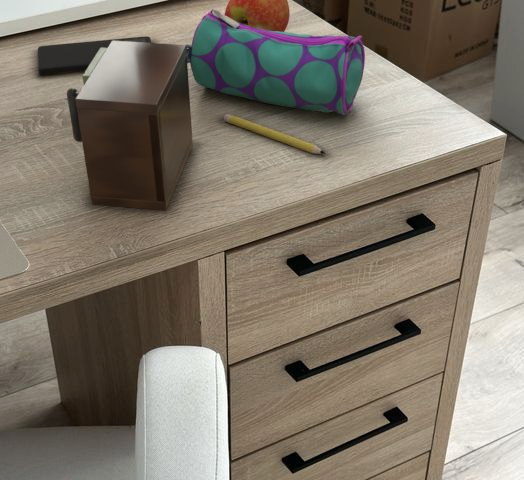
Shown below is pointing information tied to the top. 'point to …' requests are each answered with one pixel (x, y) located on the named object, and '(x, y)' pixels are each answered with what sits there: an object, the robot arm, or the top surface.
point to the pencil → (273, 134)
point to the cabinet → (136, 124)
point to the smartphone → (74, 55)
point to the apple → (260, 13)
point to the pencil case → (277, 65)
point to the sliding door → (73, 93)
